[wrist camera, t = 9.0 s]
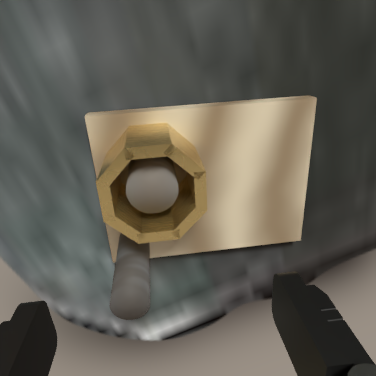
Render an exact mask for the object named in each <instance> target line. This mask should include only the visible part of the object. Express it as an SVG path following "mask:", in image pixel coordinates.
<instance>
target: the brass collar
mask: <svg viewBox="0 0 376 376" xmlns="http://www.w3.org/2000/svg"><path fill="white" fill-rule="evenodd" d="M166 156H168V157H169V158H170V159H172V160H173V161H174V162H175V163H177V164H178V165H179V166H180V167H182V168H183V169H184V170H186V177H185V178H184V179H183V180H182V181H181V182H180V183H179V185H178V188H179V191H178V196H177V199H176V201H175V202H174V204H173V205H172V206H171V207H170V208H168V209H167V210H165V211H162V212H159V213H145V212H142V211H139V210H137V209H136V208H135V207H133V206H132V205H131V203H130V202H129V200H128V198H127V195H126V185H124V184H123V183H122V182H121V177H120V173H121V171H122V170H123V169H124V168H125V167H126V165H127V164H128V163H129V162H130V161H131V160H134V159H145V158H156V157H166ZM96 185H97V190H98V195H99V200H100V205H101V210H102V215H103V220H104V222H105V223H106V224H108V225H110V226H111V227H113V228H114V229H116V230H118V231H119V232H121V233H122V234H124V235H125V236H127V237H129V238H130V239H132V240H133V241H135V242H136V243H138V244H141V243H149V242H158V241H167V240H176V239H180V238H181V237H182V236H183V235H184V234H185V233H186V232H187V231H188V230H189V229H190V228H191V227H192V226H193V225H194V224H195V223H196V222H197V221H198V220H199V219H200V218H201V217H202V216H203V215H204V214H205V213H206V211H207V187H206V170H205V168H204V166H203V164H202V161H201V159H200V157H199V155H198V153H197V150H196V148H195V146H194V145H193V144H192V143H191V142H189V141H188V140H187V139H186V138H185V137H183V136H182V135H181V134H180V133H179V132H177V131H176V130H175V129H174V128H173V127H171V126H170V125H169V124H168V123H167V122H166V123H156V124H144V125H132V126H128V128H127V129H126V130H125V131H124V133H123V134H122V135H121V136H120V138H119V139H118V140H117V141H116V142H115V144H114V145H113V146H112V147H111V149H110V150H109V151H108V152H107V153H106V156H105V159H104V161H103V164H102V167H101V169H100V172H99V175H98V178H97V180H96Z"/></svg>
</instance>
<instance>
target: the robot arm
mask: <svg viewBox="0 0 376 376" xmlns="http://www.w3.org/2000/svg"><path fill="white" fill-rule="evenodd" d="M272 313H273V318H274V321H275V324H276V327H277V329H278V331H279V333H280V336H281V338H282V340H283V343H284V345H285V347H286V350H287V352H288V354H289V357H290V359H291V361H292V364H293V366H294V368H295V371H296V373H297V375H298V376H376V365H375V364H374V362H373V361H372V360H371V358H370V357H369V355H368V354H367V353H366V351H365V350H364V348H363V347H362V345H361V344H360V342H359V341H358V339H357V338H356V336H355V335H354V333H353V332H352V331H351V329H350V328H349V326H348V325H347V323H346V322H345V321H344V320H343V318H342V316H341V314H340V313H339V312H338V310H336V308H335V306H334V304H333V303H332V301H331V300H330V299H329V297H328V295H327V294H325V293H324V292H323V291H322V290H320V289H319V288H318V287H316V286H315V285H307V286H306V285H305V283H304V282H303V280H302V279H301V277H300V275H299V274H298V273H297V272H287V273H279V274H275V275H274V279H273V295H272ZM56 347H57V333H56V330H55V327H54V324H53V321H52V318H51V316H50V312H49V309H48V306H47V303H46V302H45V301H37V302H28V303H21V304H20V305H19V306H18V307H17V309H16V310H15V312H14V314H13V316H12V318H11V320H10V321H5V322H2V323H1V324H0V376H48V374H49V371H50V368H51V365H52V361H53V358H54V355H55V352H56Z"/></svg>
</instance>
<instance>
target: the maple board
mask: <svg viewBox="0 0 376 376" xmlns="http://www.w3.org/2000/svg"><path fill="white" fill-rule="evenodd" d="M316 101H317V98H315V97H312V96H309V95H308V96H295V97H282V98H270V99H257V100H244V101H231V102H219V103H206V104H193V105H180V106H168V107H155V108H142V109H129V110H117V111H104V112H91V113H87V114H86V115H85V121H86V126H87V131H88V136H89V141H90V146H91V151H92V157H93V162H94V167H95V172H96V177H97V178H98V175H99V172H100V169H101V167H102V164H103V161H104V159H105V156H106V153H107V152H108V151H109V150H110V149H111V147H112V146H113V145H114V144H115V142H116V141H117V140H118V139H119V138H120V136H121V135H122V134H123V133H124V131H125V130H126V129H127V128H128V126H132V125H144V124H156V123H166V122H167V123H168V124H169V125H170V126H171V127H173V128H174V129H175V130H176V131H177V132H179V133H180V134H181V135H182V136H183V137H185V138H186V139H187V140H188V141H189V142H191V143H192V144H193V145H194V146H195V148H196V150H197V153H198V155H199V157H200V159H201V161H202V164H203V166H204V168H205V170H206V187H207V211H206V213H205V214H204V215H203V216H202V217H201V218H200V219H199V220H198V221H197V222H196V223H195V224H194V225H193V226H192V227H191V228H190V229H189V230H188V231H187V232H186V233H185V234H184V235H183V236H182V237H181V238H180V239H176V240H167V241H158V242H149V243H141V244H138V243H136V242H135V241H133V240H132V239H130V238H129V237H127V236H125V235H124V234H122V233H121V232H119V231H118V230H116V229H114V228H113V227H111V226H110V225H108V224H106V229H107V234H108V239H109V244H110V249H111V254H112V259H113V262H116V264H115V271H114V278H113V285H112V292H111V299H110V309H111V311H112V313H113V314H114V315H115V316H117V317H119V318H121V319H125V320H133V319H138V318H140V317H142V316H144V315H145V314H146V313H147V312H148V310H149V308H150V258H155V257H164V256H172V255H181V254H190V253H198V252H207V251H215V250H224V249H232V248H241V247H249V246H258V245H266V244H275V243H283V242H292V241H300V240H301V232H302V223H303V214H304V206H305V197H306V188H307V179H308V171H309V162H310V153H311V144H312V136H313V127H314V118H315V110H316ZM120 177H121V182H122V183H123V184H124V185H126V195H127V198H128V200H129V202H130V203H131V205H132V206H133V207H135V208H136V209H137V210H139V211H142V212H145V213H159V212H162V211H165V210H167V209H168V208H170V207H171V206H172V205H173V204H174V202H175V201H176V199H177V196H178V191H179V188H178V185H179V183H180V182H181V181H182V180H183V179H184V178H185V177H186V170H184V169H183V168H182V167H180V166H179V165H178V164H177V163H175V162H174V161H173V160H172V159H170V158H169V157H168V156H166V157H156V158H145V159H134V160H131V161H130V162H129V163H128V164H127V165H126V167H125V168H124V169H123V170H122V171H121V173H120Z"/></svg>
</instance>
